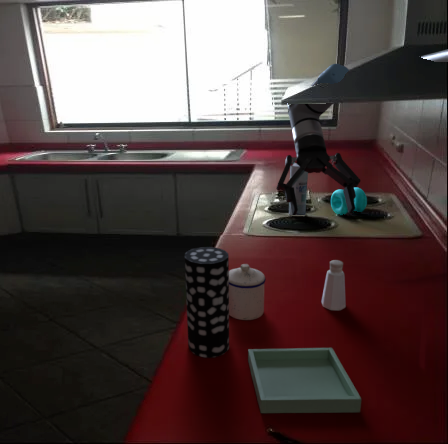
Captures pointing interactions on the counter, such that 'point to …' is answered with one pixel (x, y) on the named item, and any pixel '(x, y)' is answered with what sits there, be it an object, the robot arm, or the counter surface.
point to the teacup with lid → (246, 293)
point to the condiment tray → (301, 381)
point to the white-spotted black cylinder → (207, 301)
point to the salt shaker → (334, 287)
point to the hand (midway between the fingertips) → (323, 211)
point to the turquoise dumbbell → (340, 203)
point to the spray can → (299, 190)
